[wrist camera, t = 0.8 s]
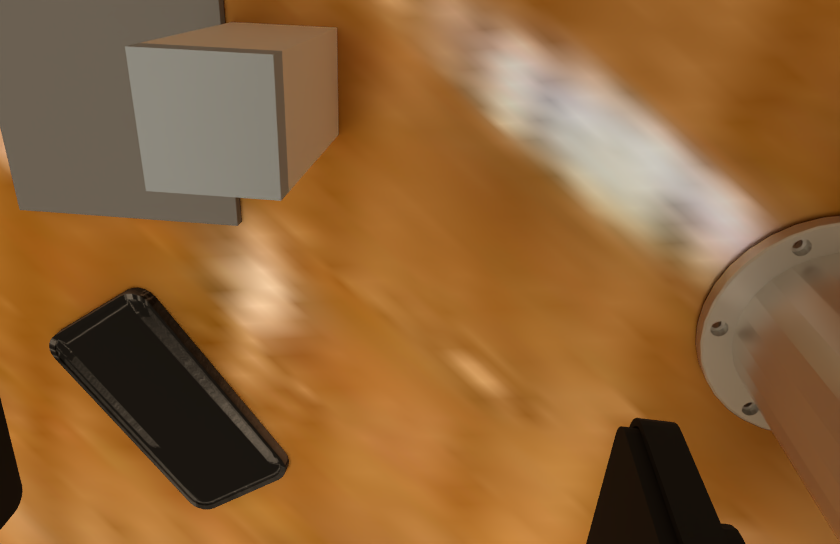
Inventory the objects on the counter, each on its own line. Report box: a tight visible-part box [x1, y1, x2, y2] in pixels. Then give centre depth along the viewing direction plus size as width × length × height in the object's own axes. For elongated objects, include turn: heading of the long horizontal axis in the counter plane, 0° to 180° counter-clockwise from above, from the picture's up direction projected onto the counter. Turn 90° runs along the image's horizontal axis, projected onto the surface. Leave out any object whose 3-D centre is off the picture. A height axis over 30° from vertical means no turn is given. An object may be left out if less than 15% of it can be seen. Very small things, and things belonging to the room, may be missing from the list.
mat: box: [0, 0, 242, 226], centre depth 32 cm, size 12×15×1 cm
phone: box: [49, 288, 289, 509], centre depth 40 cm, size 8×1×15 cm
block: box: [125, 22, 339, 201], centre depth 27 cm, size 5×5×10 cm
